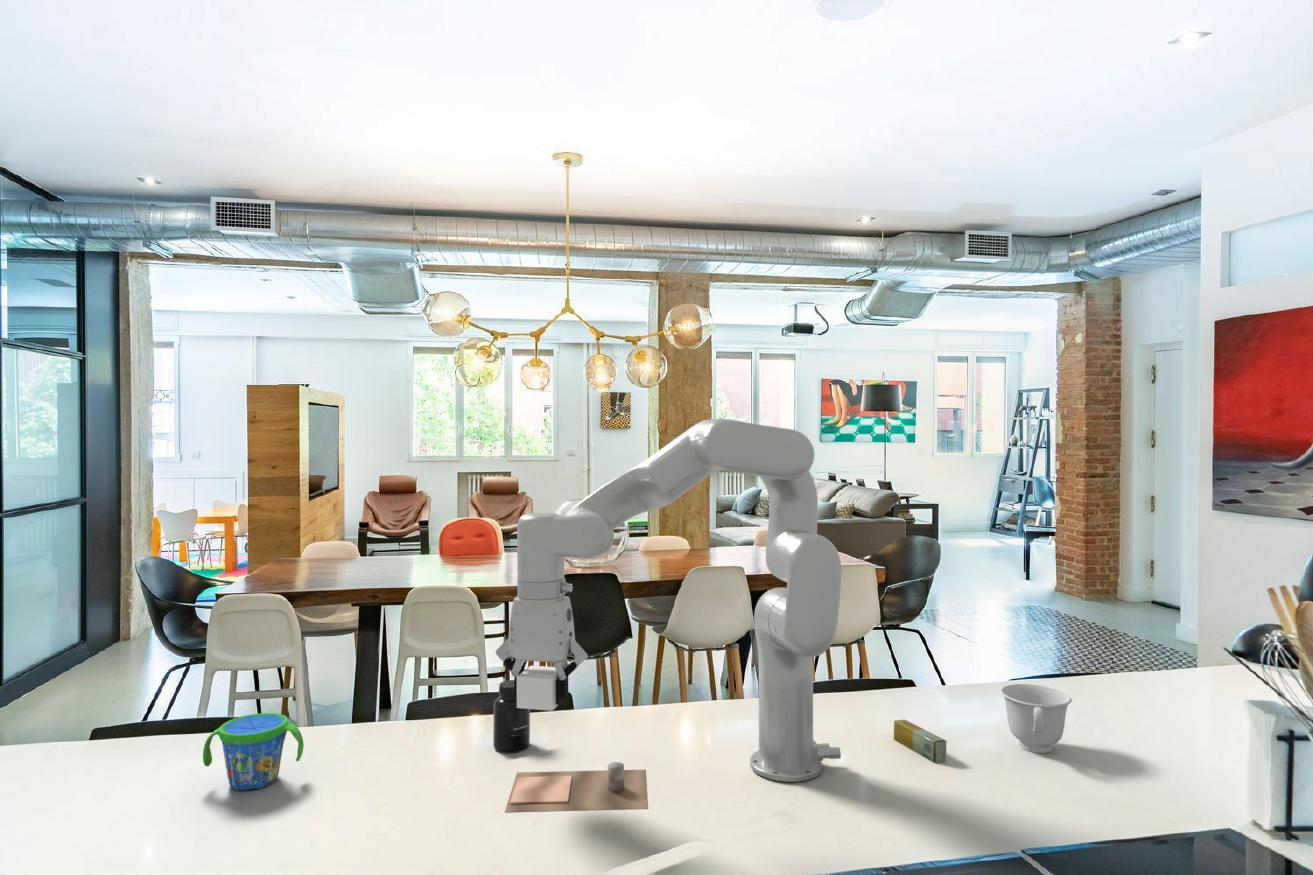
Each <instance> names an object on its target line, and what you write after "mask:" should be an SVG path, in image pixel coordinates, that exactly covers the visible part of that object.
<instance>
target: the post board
mask: <svg viewBox="0 0 1313 875" xmlns="http://www.w3.org/2000/svg"><path fill="white" fill-rule="evenodd" d="M624 764H625V763H622V762H618V761H614V762H610V763H609V764H608V765H607V770H602V769H601V770H572V771H571V770H566V771H565V770H564V771H563V770H562V771H525V772H524V771H521V772H520V771H519V772H516V774H515V779H514V781H513V785H512V787H511V790H510V794H509V797H508V800H507V803H506V806H505V810H504V813H538V812H541V813H542V812H543V813H544V812H577V811H578V812H582V811H585V812H586V811H616V810H620V811H623V810H648V809H649V803H648V801H649V800H648V788H647V771H646V769H625V765H624Z"/></svg>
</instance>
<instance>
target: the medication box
mask: <svg viewBox="0 0 1313 875" xmlns="http://www.w3.org/2000/svg"><path fill="white" fill-rule="evenodd" d="M893 741H895V742H897V743H899V744H900V745H902V746H904V747H905V748H907V749H909V750H911V751H912V752H914V753H916V754H918V755H919V756H921V757H923V758H924V759H927V760H928V761H929V762H931V763H933V764H942V763H944V762H946V761H947V740H946V739H944V738H941V737H940V736H938V735H936V734H934V733H932V732H930V731H928V730H926V729H924V728H922V727H921V726H919V725H916V724H915V723H913V722H910V721H909V720H906V719H896V720H894V721H893Z"/></svg>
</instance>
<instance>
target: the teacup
mask: <svg viewBox="0 0 1313 875" xmlns="http://www.w3.org/2000/svg"><path fill="white" fill-rule="evenodd" d="M1000 694H1001V695H1002V696H1003V699H1004V704H1005V709H1006V718H1007V723H1008V727H1009V730H1010V733H1011V734H1012V735H1013V736H1014V737H1015V738H1016V739H1017V740H1019V741H1018V746H1019V747H1020V748H1021V749H1023V750H1025V751H1027V752H1030V753H1035V754H1048V753H1050V752H1053V745H1055V744H1057V743H1058V742H1059V741H1060V740H1061V739H1062V737H1063V734H1064V730H1065V724H1066V723H1065V722H1066V716H1067V711H1068V710H1067V709H1068V706H1069V705H1070V704H1071V702H1073V701H1072V700H1073V699H1072V697H1070V696H1069V695H1068V694H1067V693H1065V692H1063V691H1061V690H1058V689H1056V688H1053V687H1048V686H1045V685H1038V684H1036V685H1035V684H1027V683H1019V684H1018V683H1017V684H1016V683H1015V684H1009V685H1006V686H1003V688H1001V689H1000Z"/></svg>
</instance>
